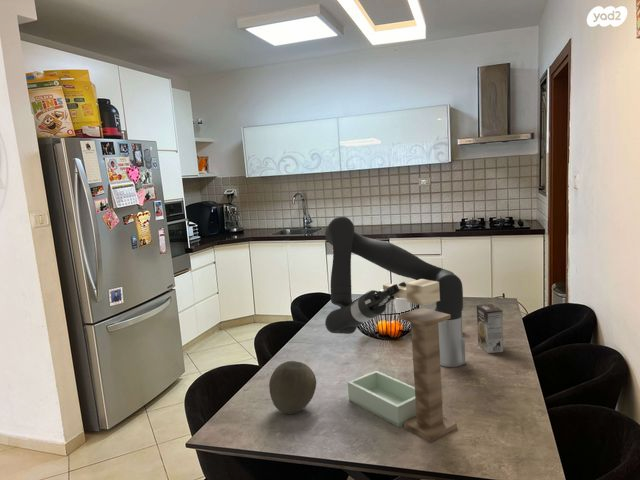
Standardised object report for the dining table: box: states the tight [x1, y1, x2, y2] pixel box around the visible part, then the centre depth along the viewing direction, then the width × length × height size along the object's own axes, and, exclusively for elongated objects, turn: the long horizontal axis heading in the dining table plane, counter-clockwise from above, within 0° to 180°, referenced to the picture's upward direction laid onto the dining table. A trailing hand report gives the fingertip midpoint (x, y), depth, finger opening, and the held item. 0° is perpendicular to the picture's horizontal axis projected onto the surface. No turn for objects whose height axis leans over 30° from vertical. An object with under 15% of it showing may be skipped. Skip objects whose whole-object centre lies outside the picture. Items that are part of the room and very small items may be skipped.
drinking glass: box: [394, 298, 411, 314], centre depth 209 cm, size 7×7×15 cm
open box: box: [347, 370, 416, 428], centre depth 144 cm, size 22×12×6 cm, turn 35°
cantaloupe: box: [268, 360, 317, 415], centre depth 146 cm, size 14×14×15 cm
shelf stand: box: [398, 307, 458, 443], centre depth 128 cm, size 10×10×32 cm
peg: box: [382, 279, 440, 307], centre depth 130 cm, size 17×6×5 cm, turn 35°
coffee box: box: [476, 303, 504, 354], centre depth 181 cm, size 9×6×16 cm
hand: (401, 286), depth 132 cm, fingers closed on peg, 2 cm apart
